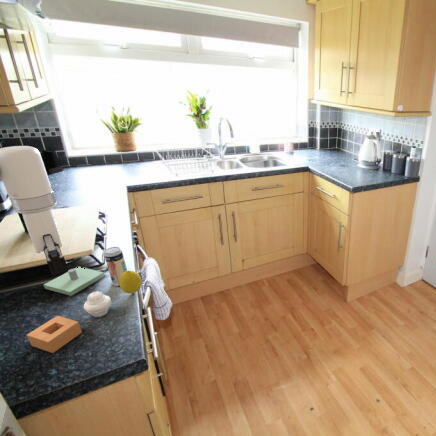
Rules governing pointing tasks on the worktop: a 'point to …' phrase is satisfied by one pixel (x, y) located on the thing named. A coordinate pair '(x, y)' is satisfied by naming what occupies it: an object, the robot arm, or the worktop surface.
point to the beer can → (115, 264)
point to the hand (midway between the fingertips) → (57, 265)
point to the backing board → (74, 280)
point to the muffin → (97, 304)
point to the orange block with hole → (54, 334)
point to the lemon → (130, 282)
